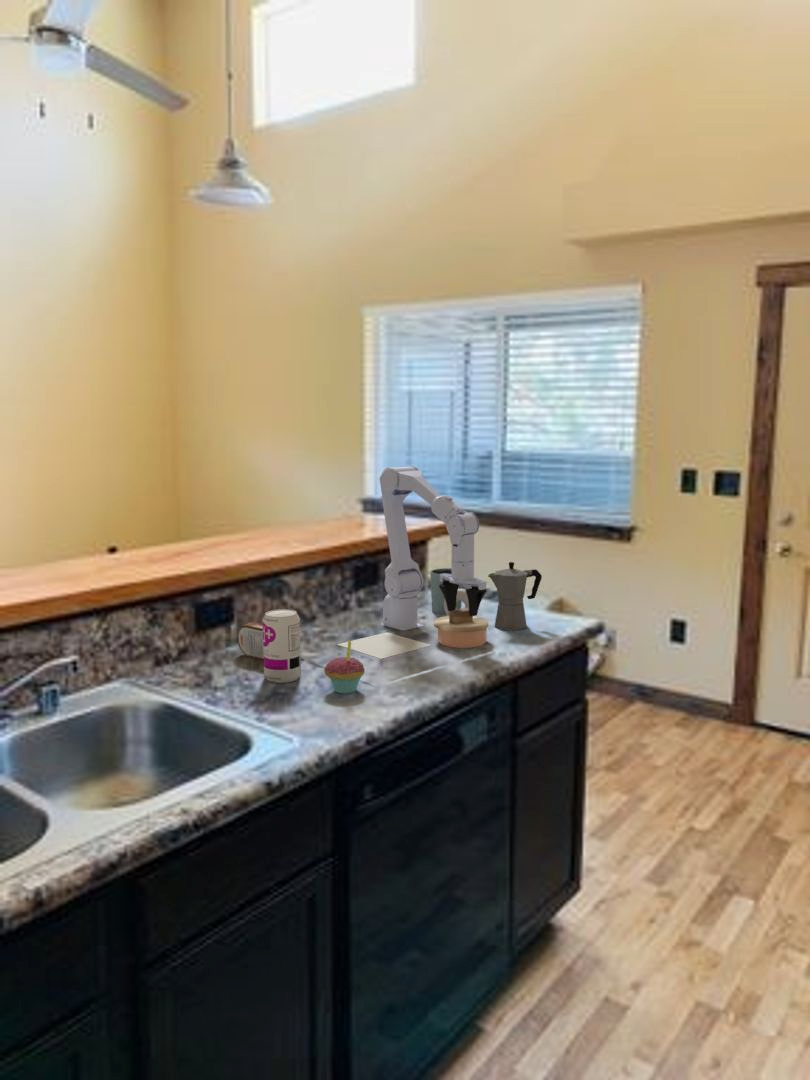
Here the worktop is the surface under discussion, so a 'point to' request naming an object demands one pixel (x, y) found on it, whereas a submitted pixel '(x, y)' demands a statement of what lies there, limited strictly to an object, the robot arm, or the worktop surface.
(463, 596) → the donut
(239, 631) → the tin
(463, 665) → the worktop surface
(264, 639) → the supplement can
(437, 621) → the lid
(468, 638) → the bowl
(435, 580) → the teal cup
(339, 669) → the cupcake
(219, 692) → the worktop surface
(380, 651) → the mat
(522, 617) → the coffeepot
